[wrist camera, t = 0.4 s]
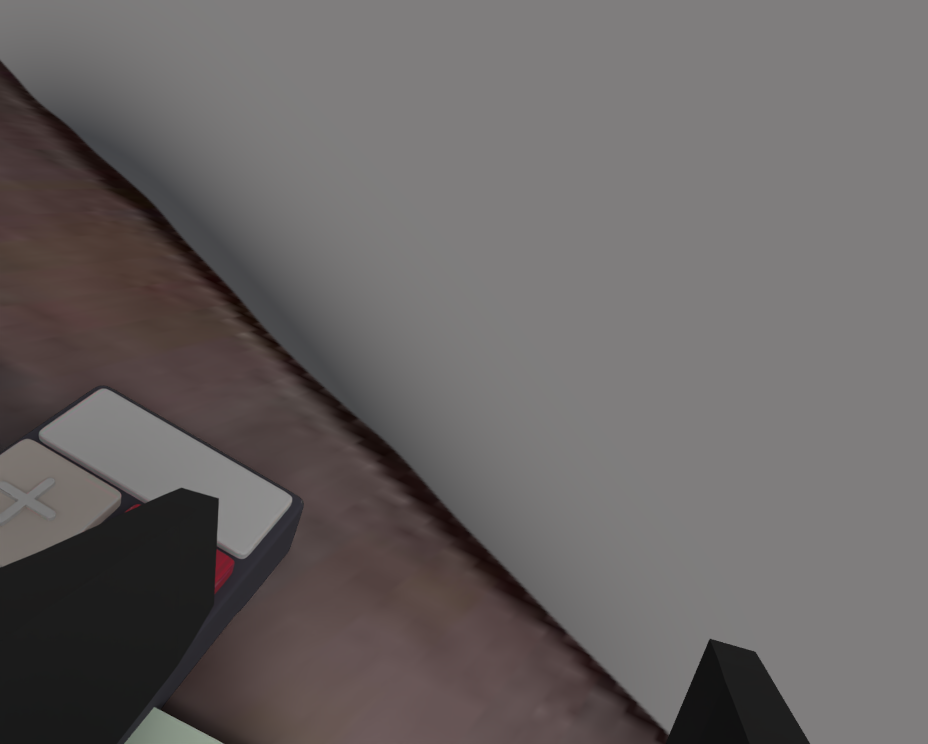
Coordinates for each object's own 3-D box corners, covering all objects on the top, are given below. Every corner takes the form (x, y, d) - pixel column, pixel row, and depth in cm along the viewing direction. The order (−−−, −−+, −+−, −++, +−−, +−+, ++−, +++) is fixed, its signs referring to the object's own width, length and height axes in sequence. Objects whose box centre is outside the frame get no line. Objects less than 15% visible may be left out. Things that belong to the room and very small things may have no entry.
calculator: (-289, 629, 21) (102, 368, 33) (-250, 697, 24) (100, 433, 35) (25, 835, 20) (312, 489, 32) (30, 882, 23) (293, 546, 34)
